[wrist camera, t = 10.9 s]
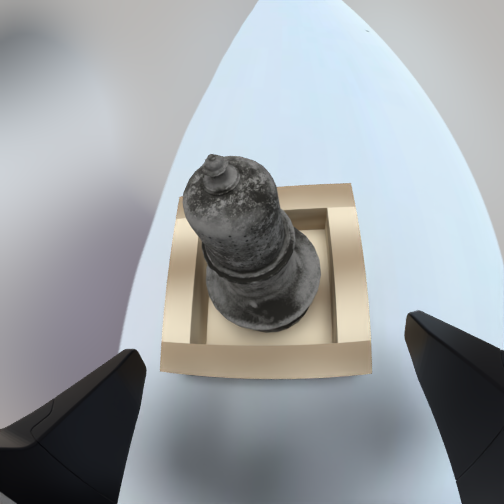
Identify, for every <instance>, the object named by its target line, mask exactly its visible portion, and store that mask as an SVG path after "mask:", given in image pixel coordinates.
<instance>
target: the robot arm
mask: <svg viewBox="0 0 504 504" xmlns="http://www.w3.org/2000/svg"><path fill="white" fill-rule="evenodd" d="M404 336H405V341H406V344H407V347H408V350H409V353H410V356H411V359H412V362H413V365H414V368H415V371H416V374H417V377H418V380H419V382H420V384H421V387H422V389H423V391H424V394H425V396H426V399H427V401H428V403H429V406H430V408H431V411H432V413H433V416H434V418H435V421H436V423H437V426H438V429H439V431H440V434H441V437H442V440H443V442H444V445H445V448H446V451H447V454H448V457H449V460H450V463H451V466H452V470H453V473H454V476H455V480H457V481H456V484H457V487H458V491H459V495H460V498H461V502H462V504H504V350H500V349H499V348H497V347H495V346H493V345H491V344H489V343H487V342H485V341H483V340H481V339H479V338H477V337H475V336H473V335H471V334H469V333H466V332H464V331H462V330H460V329H458V328H456V327H454V326H452V325H450V324H448V323H445V322H443V321H441V320H439V319H437V318H435V317H433V316H431V315H428V314H426V313H424V312H422V311H420V310H418V311H414V312H410V313H408V315H407V318H406V326H405V334H404ZM145 377H146V366H145V364H144V362H143V360H142V358H141V356H140V354H139V353H138V351H137V350H136V349H125V350H123V351H122V352H120V353H119V354H117V355H116V356H115V357H113V358H112V359H110V360H109V361H107V362H106V363H105V364H103V365H102V366H100V367H99V368H97V369H96V370H95V371H93V372H91V373H90V374H89V375H87V376H86V377H84V378H83V379H81V380H80V381H78V382H77V383H75V384H74V385H73V386H71V387H70V388H68V389H67V390H65V391H64V392H62V393H61V394H60V395H58V396H57V397H56V398H55V399H52V400H51V401H49V402H48V403H46V404H45V405H43V406H42V407H40V408H39V409H37V410H35V411H34V412H32V413H31V414H29V415H27V416H25V417H23V418H22V419H20V420H18V421H16V422H15V423H13V424H11V425H10V426H7V427H5V428H3V429H0V504H117V502H118V497H119V492H120V488H121V483H122V478H123V474H124V469H125V465H126V461H127V457H128V453H129V449H130V444H131V441H132V437H133V433H134V429H135V425H136V421H137V418H138V414H139V410H140V406H141V400H142V394H143V388H144V383H145Z"/></svg>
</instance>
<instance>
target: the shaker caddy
mask: <svg viewBox="0 0 504 504" xmlns="http://www.w3.org/2000/svg"><path fill="white" fill-rule="evenodd" d="M277 191H278V197H279V203H280V208H281V209H282V210H284V212H285V213H286V214H287V215H288V217H289V218H290V220H291V222H292V225H293V227H295V228H296V229H298V230H299V231H300V232H302V233H303V234H304V235H306V237H307V238H308V239H309V240H310V242H311V243H312V244H313V246H314V247H315V250H316V252H317V255H318V257H319V260H320V269H321V278H320V283H319V288H318V291H317V293H316V295H315V298H314V300H313V302H312V304H311V305H310V306H309V308H308V310H307V312H306V314H305V315H304V316H303V317H302V318H301V319H300V321H299V322H298V323H296V324H294V325H293V326H291V327H290V328H288V329H285V330H282V331H279V332H268V333H265V332H260V331H256V330H252V329H248V328H243V327H240V326H238V325H236V324H234V323H232V322H231V321H229V320H227V319H226V318H225V317H224V316H223V315H222V314H221V313H220V312H219V311H218V310H217V309H216V308H215V306H214V304H213V303H212V301H211V299H210V297H209V294H208V290H207V285H206V268H207V265H208V264H207V262H206V260H205V259H204V255H203V251H202V241H201V239H200V238H199V237H198V235H197V234H196V233H195V231H194V230H193V229H192V228H191V226H190V224H189V223H188V221H187V219H186V216H185V213H184V208H183V203H182V202H183V196H182V197H180V198H179V203H178V209H177V215H176V221H175V227H174V234H173V241H172V248H171V255H170V262H169V270H168V279H167V287H166V297H165V307H164V317H163V329H162V343H161V360H160V371H161V372H169V373H177V374H186V375H197V376H209V377H223V378H245V379H306V378H327V377H342V376H353V375H364V374H372V357H371V332H370V316H369V304H368V293H367V283H366V274H365V265H364V257H363V250H362V243H361V236H360V230H359V224H358V218H357V212H356V207H355V201H354V196H353V191H352V186H351V183H343V184H318V185H300V186H284V187H277Z"/></svg>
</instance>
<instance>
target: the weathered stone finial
mask: <svg viewBox="0 0 504 504" xmlns="http://www.w3.org/2000/svg"><path fill="white" fill-rule="evenodd" d="M182 203H183V208H184V213H185V216H186V219H187V221H188V223H189V224H190V226H191V228H192V229H193V230H194V231H195V233H196V234H197V235H198V237H199V238H200V239H201V241H202V251H203V255H204V259H205V260H206V262H207V264H208V265H207V268H206V285H207V290H208V294H209V297H210V299H211V301H212V303H213V304H214V306H215V308H216V309H217V310H218V311H219V312H220V313H221V314H222V315H223V316H224V317H225V318H226V319H227V320H229V321H231V322H232V323H234V324H236V325H238V326H240V327H243V328H248V329H252V330H256V331H260V332H265V333H268V332H279V331H282V330H285V329H288V328H290V327H291V326H293V325H294V324H296V323H298V322H299V321H300V319H301V318H302V317H303V316H304V315H305V314H306V312H307V310H308V308H309V306H310V305H311V304H312V302H313V300H314V298H315V295H316V293H317V291H318V288H319V283H320V278H321V269H320V260H319V257H318V255H317V252H316V250H315V247H314V246H313V244H312V243H311V242H310V240H309V239H308V238H307V237H306V235H304V234H303V233H302V232H300V231H299V230H298V229H296V228H295V227H293V225H292V222H291V220H290V218H289V217H288V215H287V214H286V213H285V212H284V210H282V209H281V208H280V203H279V197H278V191H277V187H276V185H275V182H274V180H273V178H272V176H271V175H270V173H269V172H268V171H267V170H266V169H265V168H264V167H263V166H262V165H260V164H259V163H257V162H256V161H253V160H250V159H247V158H243V157H240V156H226V157H223V156H219V155H214V154H210V155H208V157H207V159H206V160H205V163H204V164H203V165H202V166H201V167H200V168H199V169H198V170H197V171H195V173H194V174H193V175H192V177H191V178H190V179H189V181H188V184H187V186H186V188H185V191H184V194H183V202H182Z"/></svg>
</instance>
